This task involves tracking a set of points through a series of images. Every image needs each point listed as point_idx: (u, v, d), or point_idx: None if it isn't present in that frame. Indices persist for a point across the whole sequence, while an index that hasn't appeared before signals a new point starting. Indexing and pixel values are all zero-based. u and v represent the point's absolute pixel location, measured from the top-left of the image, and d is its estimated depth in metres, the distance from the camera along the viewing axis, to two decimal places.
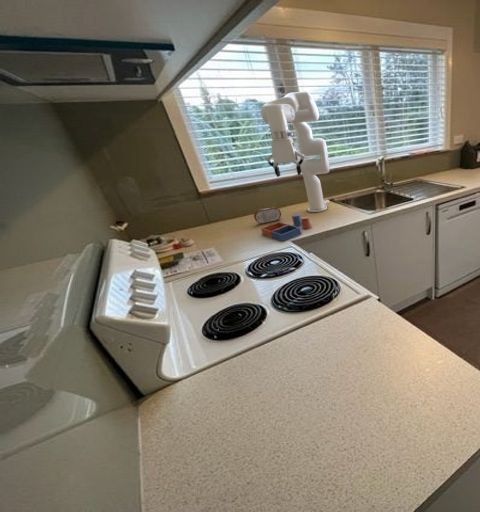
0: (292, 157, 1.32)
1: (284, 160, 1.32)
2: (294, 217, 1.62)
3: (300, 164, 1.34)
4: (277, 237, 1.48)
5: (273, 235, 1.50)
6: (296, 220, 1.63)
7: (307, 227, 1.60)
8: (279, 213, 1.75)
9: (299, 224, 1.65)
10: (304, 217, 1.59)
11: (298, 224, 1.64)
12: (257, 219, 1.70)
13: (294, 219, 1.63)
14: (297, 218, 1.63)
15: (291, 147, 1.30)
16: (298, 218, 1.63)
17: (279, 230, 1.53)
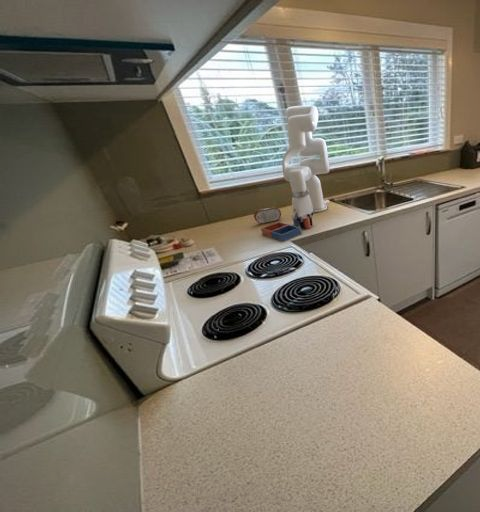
0: (311, 209, 1.59)
1: (306, 213, 1.57)
2: None
3: (311, 216, 1.62)
4: (277, 237, 1.48)
5: (273, 235, 1.50)
6: (296, 220, 1.63)
7: (307, 227, 1.60)
8: (279, 213, 1.75)
9: (299, 224, 1.65)
10: (304, 217, 1.59)
11: (298, 224, 1.64)
12: (257, 219, 1.70)
13: (294, 219, 1.63)
14: None
15: (310, 201, 1.57)
16: None
17: (279, 230, 1.53)
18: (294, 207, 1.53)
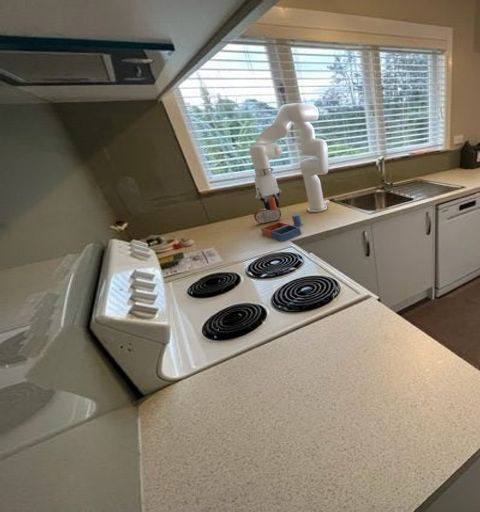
0: (277, 189, 1.50)
1: (271, 192, 1.48)
2: (294, 217, 1.62)
3: None
4: (277, 237, 1.48)
5: (273, 235, 1.50)
6: (296, 220, 1.63)
7: (272, 208, 1.51)
8: (279, 213, 1.75)
9: (299, 224, 1.65)
10: (269, 197, 1.50)
11: (298, 224, 1.64)
12: (257, 219, 1.70)
13: (294, 219, 1.63)
14: (297, 218, 1.63)
15: (275, 180, 1.48)
16: (298, 218, 1.63)
17: (279, 230, 1.53)
18: (257, 186, 1.44)
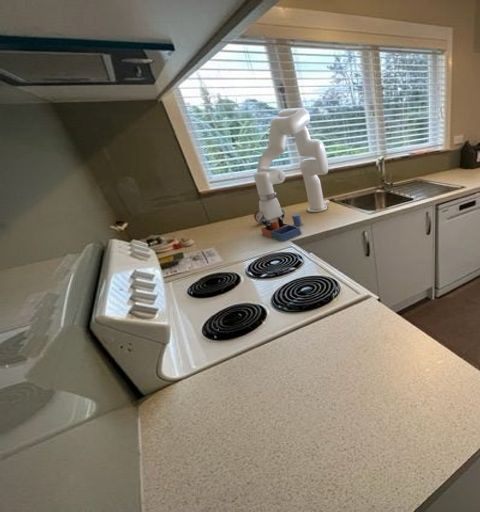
0: (280, 212, 1.55)
1: (274, 216, 1.53)
2: (294, 217, 1.62)
3: (282, 218, 1.59)
4: (277, 237, 1.48)
5: (273, 235, 1.50)
6: (296, 220, 1.63)
7: None
8: None
9: (299, 224, 1.65)
10: (273, 221, 1.55)
11: (298, 224, 1.64)
12: (257, 219, 1.70)
13: (294, 219, 1.63)
14: (297, 218, 1.63)
15: (279, 204, 1.54)
16: (298, 218, 1.63)
17: (279, 230, 1.53)
18: (261, 210, 1.49)
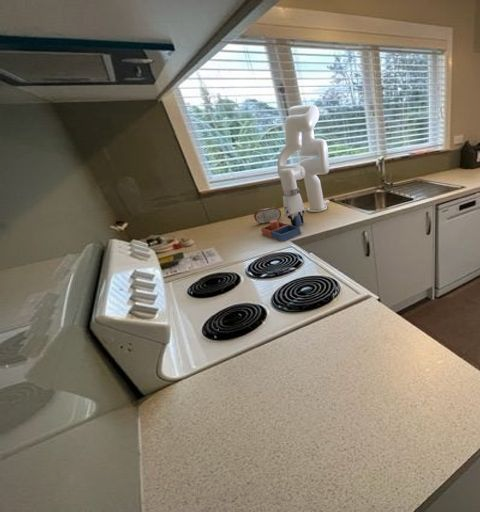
0: (302, 207, 1.63)
1: (297, 210, 1.61)
2: (294, 217, 1.62)
3: (302, 214, 1.67)
4: (277, 237, 1.48)
5: (273, 235, 1.50)
6: (296, 220, 1.63)
7: None
8: (279, 213, 1.75)
9: (299, 224, 1.65)
10: (273, 221, 1.55)
11: (298, 224, 1.64)
12: (257, 219, 1.70)
13: None
14: (297, 218, 1.63)
15: (301, 199, 1.62)
16: (298, 218, 1.63)
17: (279, 230, 1.53)
18: (285, 205, 1.57)
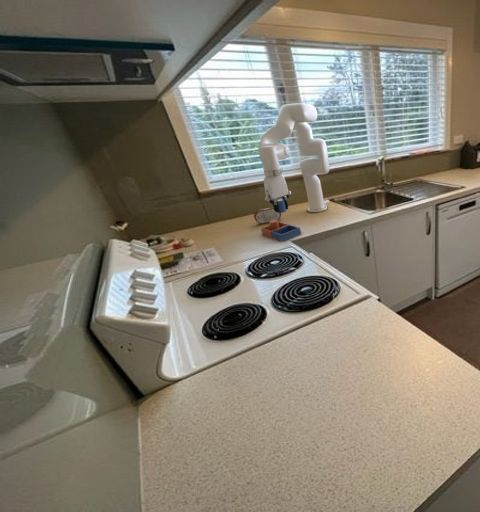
0: (286, 190, 1.45)
1: (280, 194, 1.43)
2: (277, 202, 1.44)
3: (287, 199, 1.48)
4: (277, 237, 1.48)
5: (273, 235, 1.50)
6: (279, 205, 1.44)
7: None
8: (279, 213, 1.75)
9: (283, 210, 1.46)
10: (273, 221, 1.55)
11: (282, 210, 1.46)
12: (257, 219, 1.70)
13: None
14: (280, 203, 1.44)
15: (285, 182, 1.43)
16: (282, 203, 1.45)
17: (279, 230, 1.53)
18: (266, 188, 1.39)
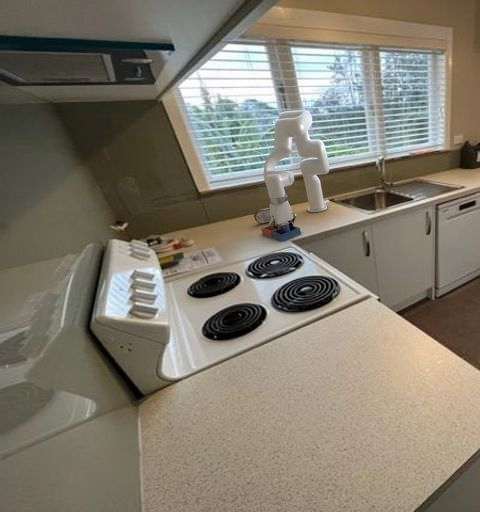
0: (291, 215, 1.50)
1: (285, 220, 1.48)
2: (282, 226, 1.48)
3: None
4: (277, 237, 1.48)
5: (273, 235, 1.50)
6: (284, 230, 1.49)
7: None
8: None
9: None
10: None
11: None
12: (257, 219, 1.70)
13: (282, 229, 1.49)
14: (285, 227, 1.49)
15: (290, 207, 1.48)
16: (286, 227, 1.49)
17: None
18: (272, 214, 1.44)
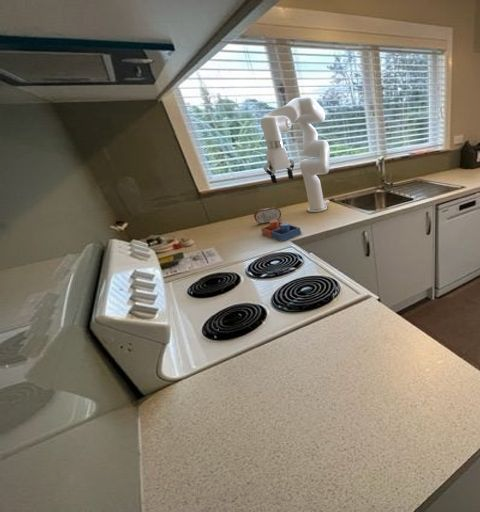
0: (288, 163, 1.47)
1: (282, 166, 1.45)
2: (282, 226, 1.48)
3: None
4: (277, 237, 1.48)
5: (273, 235, 1.50)
6: (284, 230, 1.49)
7: None
8: (279, 213, 1.75)
9: None
10: (273, 221, 1.55)
11: None
12: (257, 219, 1.70)
13: (282, 229, 1.49)
14: (285, 227, 1.49)
15: (287, 154, 1.46)
16: (286, 227, 1.49)
17: (279, 230, 1.53)
18: (268, 159, 1.41)
